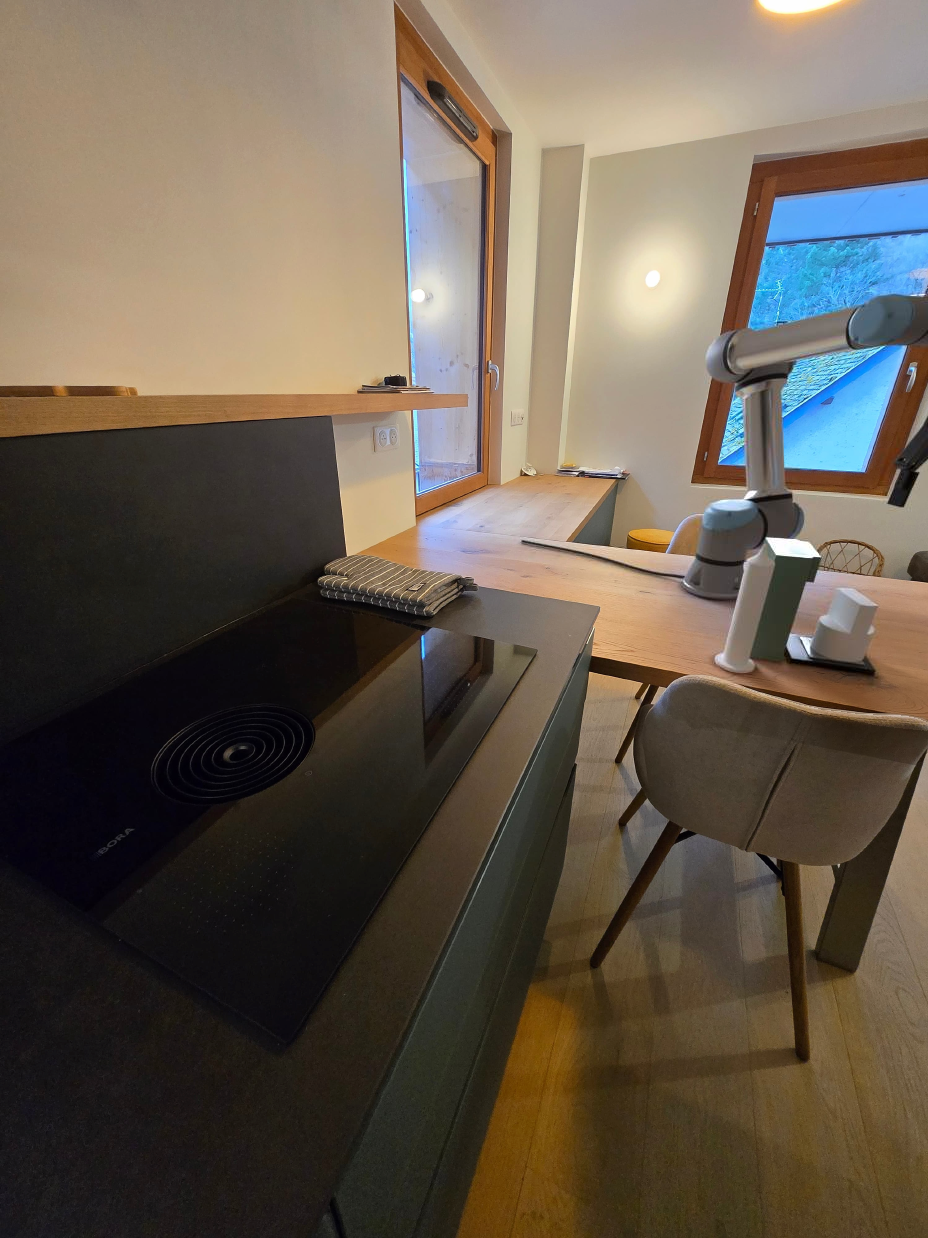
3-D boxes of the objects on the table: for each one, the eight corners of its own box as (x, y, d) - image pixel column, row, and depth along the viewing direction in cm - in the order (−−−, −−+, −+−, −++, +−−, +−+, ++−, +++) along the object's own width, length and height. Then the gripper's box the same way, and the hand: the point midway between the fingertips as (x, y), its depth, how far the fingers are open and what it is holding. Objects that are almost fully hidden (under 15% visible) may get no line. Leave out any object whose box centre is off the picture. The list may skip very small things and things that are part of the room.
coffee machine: (747, 657, 101) (776, 554, 91) (740, 631, 111) (765, 537, 101) (873, 675, 94) (918, 567, 84) (853, 646, 104) (891, 547, 95)
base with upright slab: (802, 639, 105) (819, 586, 99) (848, 641, 104) (868, 588, 98) (824, 660, 97) (843, 604, 91) (874, 663, 95) (897, 607, 90)
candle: (707, 656, 101) (735, 538, 91) (740, 654, 102) (771, 537, 91) (727, 674, 95) (759, 550, 84) (761, 672, 96) (798, 549, 85)
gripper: (949, 383, 80) (891, 512, 90) (1054, 386, 86) (990, 506, 96) (902, 381, 86) (854, 501, 96) (1003, 384, 92) (948, 497, 102)
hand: (921, 504), depth 96 cm, fingers open, 13 cm apart
